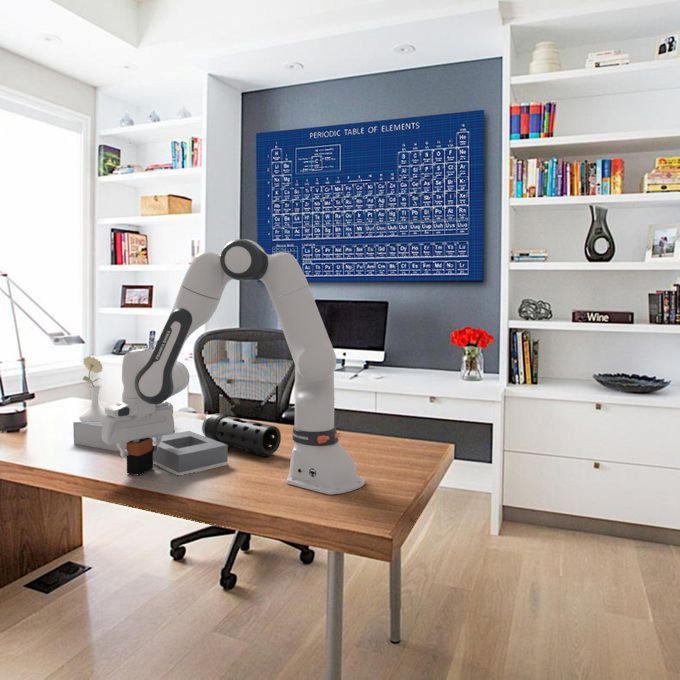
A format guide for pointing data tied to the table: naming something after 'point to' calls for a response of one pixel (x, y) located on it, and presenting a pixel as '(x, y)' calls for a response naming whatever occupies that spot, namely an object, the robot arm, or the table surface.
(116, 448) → the white slatted block
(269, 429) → the muzzle brake
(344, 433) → the table surface
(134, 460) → the battery
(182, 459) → the dock
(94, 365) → the flower in vase
